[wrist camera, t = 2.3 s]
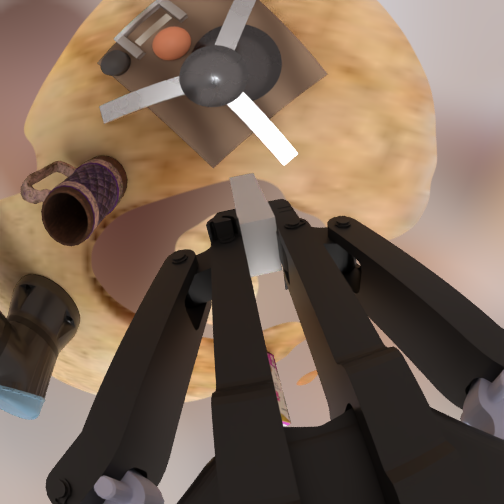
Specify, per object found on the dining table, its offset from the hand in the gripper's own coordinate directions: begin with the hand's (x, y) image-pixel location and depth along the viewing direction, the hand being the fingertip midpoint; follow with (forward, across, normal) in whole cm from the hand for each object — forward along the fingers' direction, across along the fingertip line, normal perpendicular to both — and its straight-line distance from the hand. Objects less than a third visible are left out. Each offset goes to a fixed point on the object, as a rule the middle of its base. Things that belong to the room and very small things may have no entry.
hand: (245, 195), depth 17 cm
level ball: (+15, -4, +14) cm, 21 cm away
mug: (+17, -18, +2) cm, 24 cm away
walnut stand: (+17, 0, +12) cm, 20 cm away
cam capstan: (+15, +1, +7) cm, 16 cm away
